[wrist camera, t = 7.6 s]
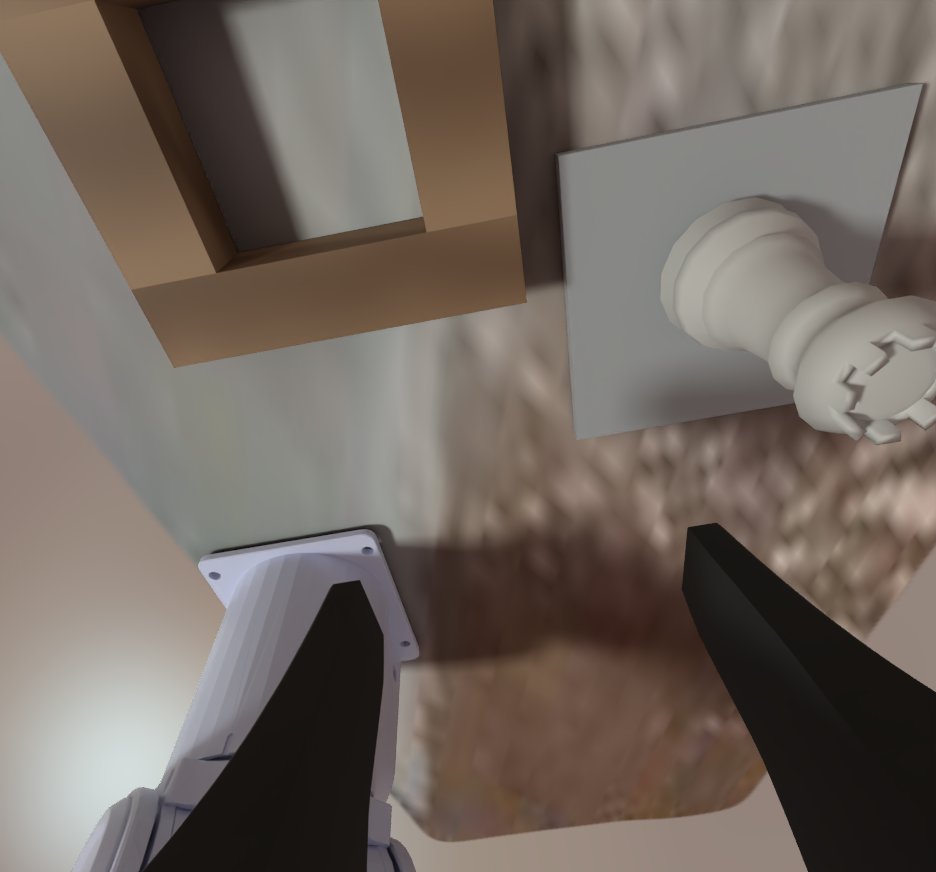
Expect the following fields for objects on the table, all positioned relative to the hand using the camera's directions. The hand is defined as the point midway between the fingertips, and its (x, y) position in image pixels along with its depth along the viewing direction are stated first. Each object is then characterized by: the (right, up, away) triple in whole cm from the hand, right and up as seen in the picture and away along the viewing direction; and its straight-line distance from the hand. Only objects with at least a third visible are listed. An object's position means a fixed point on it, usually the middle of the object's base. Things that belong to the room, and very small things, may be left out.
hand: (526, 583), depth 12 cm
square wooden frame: (-6, +12, +3) cm, 14 cm away
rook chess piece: (+7, +9, +5) cm, 12 cm away
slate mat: (+7, +8, +6) cm, 13 cm away
